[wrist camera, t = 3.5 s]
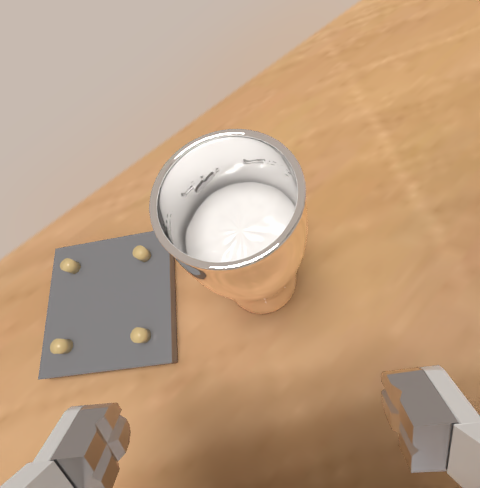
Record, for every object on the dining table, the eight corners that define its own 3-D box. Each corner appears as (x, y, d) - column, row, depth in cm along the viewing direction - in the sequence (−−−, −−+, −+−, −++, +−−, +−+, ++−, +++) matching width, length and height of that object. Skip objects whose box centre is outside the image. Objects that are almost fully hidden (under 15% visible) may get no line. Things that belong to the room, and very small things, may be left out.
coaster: (173, 233, 29) (163, 223, 26) (177, 362, 24) (165, 363, 22) (64, 252, 30) (46, 244, 28) (49, 378, 26) (26, 380, 23)
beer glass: (208, 293, 26) (111, 225, 12) (248, 230, 27) (202, 105, 14) (276, 335, 24) (253, 312, 10) (315, 264, 25) (343, 157, 11)
